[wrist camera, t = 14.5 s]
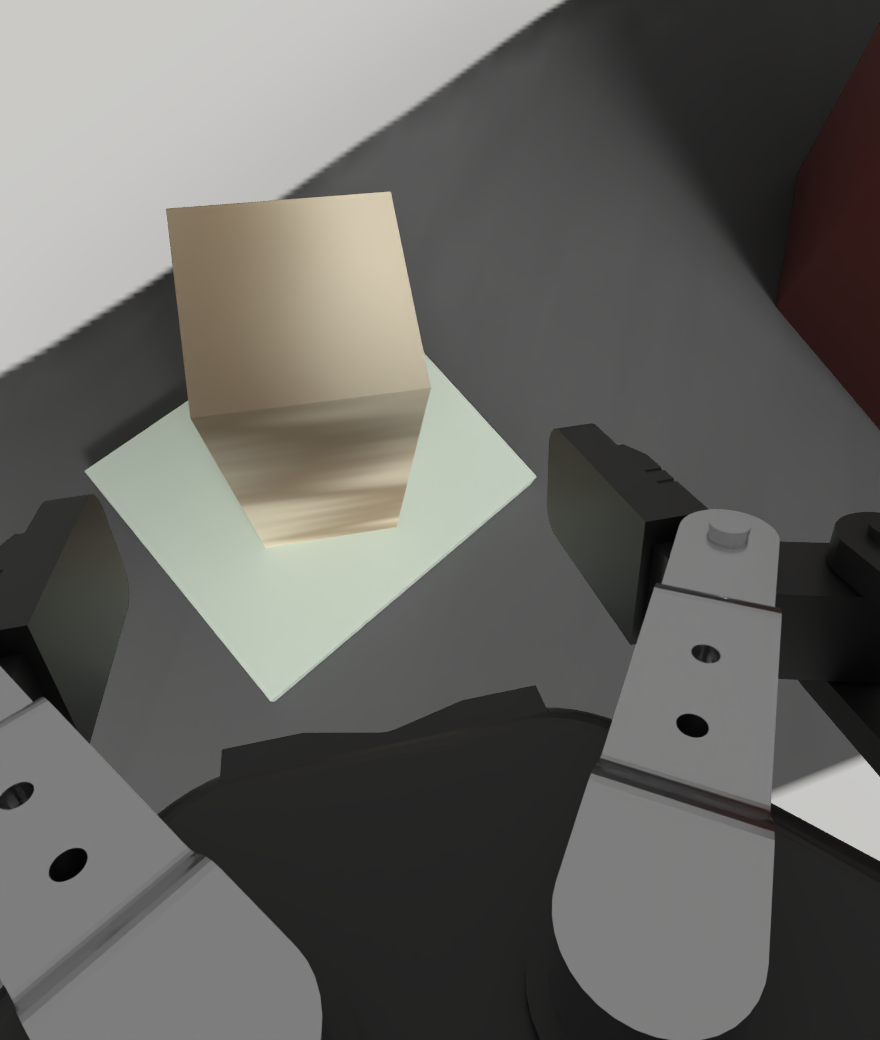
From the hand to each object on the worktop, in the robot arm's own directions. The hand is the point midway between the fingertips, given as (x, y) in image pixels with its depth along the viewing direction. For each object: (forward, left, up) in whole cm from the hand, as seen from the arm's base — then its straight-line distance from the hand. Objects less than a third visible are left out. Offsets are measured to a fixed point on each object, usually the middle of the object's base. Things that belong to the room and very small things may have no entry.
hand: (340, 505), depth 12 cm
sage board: (-2, -4, -12) cm, 13 cm away
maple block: (-2, -4, -11) cm, 12 cm away
